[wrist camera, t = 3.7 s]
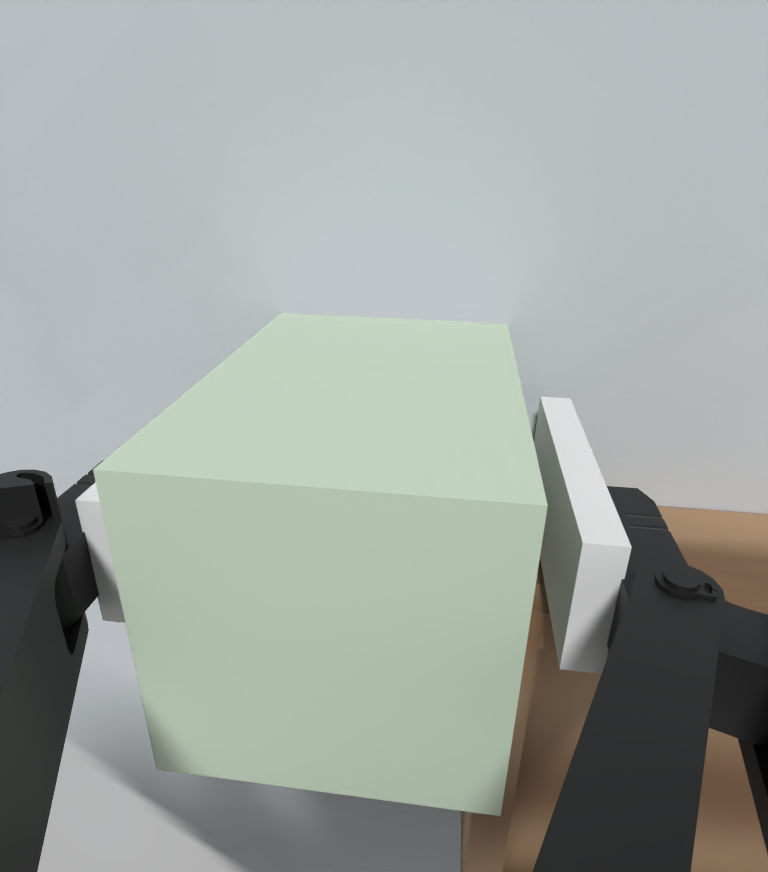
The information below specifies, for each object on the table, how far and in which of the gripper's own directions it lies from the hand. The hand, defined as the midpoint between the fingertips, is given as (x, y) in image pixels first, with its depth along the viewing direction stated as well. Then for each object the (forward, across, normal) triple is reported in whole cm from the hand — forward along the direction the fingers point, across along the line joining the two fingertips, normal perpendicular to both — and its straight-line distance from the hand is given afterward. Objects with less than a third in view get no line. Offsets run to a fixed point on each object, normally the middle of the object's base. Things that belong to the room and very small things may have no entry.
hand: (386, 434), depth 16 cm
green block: (+1, 0, 0) cm, 1 cm away
